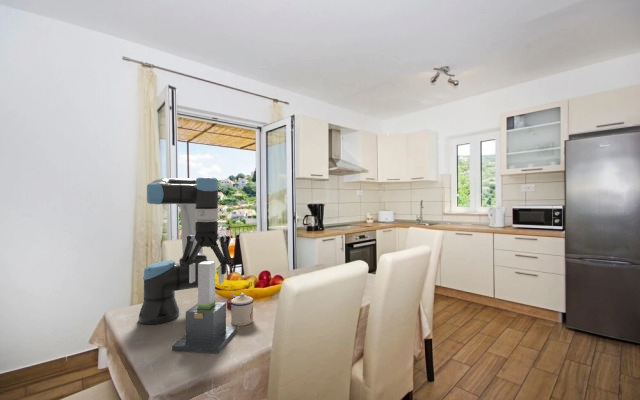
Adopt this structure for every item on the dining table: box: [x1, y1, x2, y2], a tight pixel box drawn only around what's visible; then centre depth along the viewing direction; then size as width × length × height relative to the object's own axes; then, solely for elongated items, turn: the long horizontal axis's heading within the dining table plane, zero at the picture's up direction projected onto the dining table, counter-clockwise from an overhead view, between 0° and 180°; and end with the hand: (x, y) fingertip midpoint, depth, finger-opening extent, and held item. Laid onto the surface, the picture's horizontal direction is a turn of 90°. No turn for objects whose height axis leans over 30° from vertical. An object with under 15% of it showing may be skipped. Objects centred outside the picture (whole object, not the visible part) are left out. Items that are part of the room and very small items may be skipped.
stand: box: [171, 301, 238, 354], centre depth 104 cm, size 16×16×12 cm
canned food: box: [226, 293, 238, 310], centre depth 138 cm, size 11×10×10 cm
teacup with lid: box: [230, 292, 254, 327], centre depth 121 cm, size 12×9×12 cm
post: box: [197, 260, 216, 310], centre depth 104 cm, size 4×4×20 cm
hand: (206, 282), depth 104 cm, fingers open, 10 cm apart
